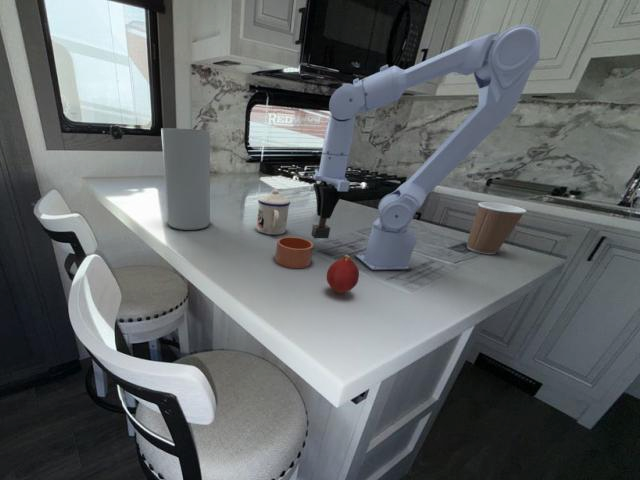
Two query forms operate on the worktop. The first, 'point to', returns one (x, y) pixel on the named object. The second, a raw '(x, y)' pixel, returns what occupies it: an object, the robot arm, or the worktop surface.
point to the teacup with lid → (272, 213)
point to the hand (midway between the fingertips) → (323, 216)
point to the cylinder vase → (187, 177)
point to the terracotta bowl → (293, 252)
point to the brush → (321, 229)
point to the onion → (343, 275)
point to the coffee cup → (492, 226)
